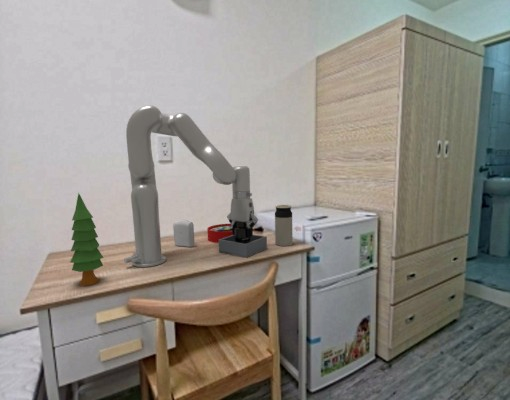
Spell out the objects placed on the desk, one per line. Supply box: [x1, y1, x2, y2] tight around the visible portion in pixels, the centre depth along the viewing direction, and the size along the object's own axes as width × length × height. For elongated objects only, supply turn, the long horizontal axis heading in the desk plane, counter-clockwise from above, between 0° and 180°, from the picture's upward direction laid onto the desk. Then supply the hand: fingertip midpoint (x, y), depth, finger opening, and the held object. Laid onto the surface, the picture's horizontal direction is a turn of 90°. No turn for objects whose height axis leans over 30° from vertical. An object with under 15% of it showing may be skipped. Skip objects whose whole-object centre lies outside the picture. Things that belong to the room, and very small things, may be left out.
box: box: [217, 234, 268, 259], centre depth 131 cm, size 15×15×6 cm
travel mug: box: [274, 204, 294, 247], centre depth 139 cm, size 8×8×18 cm
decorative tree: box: [69, 192, 104, 287], centre depth 99 cm, size 10×9×30 cm
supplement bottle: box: [234, 221, 250, 244], centre depth 131 cm, size 7×7×12 cm
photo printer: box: [172, 219, 195, 248], centre depth 141 cm, size 10×4×12 cm, turn 63°
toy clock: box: [206, 223, 233, 244], centre depth 154 cm, size 20×6×20 cm
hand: (242, 235), depth 131 cm, fingers open, 7 cm apart
